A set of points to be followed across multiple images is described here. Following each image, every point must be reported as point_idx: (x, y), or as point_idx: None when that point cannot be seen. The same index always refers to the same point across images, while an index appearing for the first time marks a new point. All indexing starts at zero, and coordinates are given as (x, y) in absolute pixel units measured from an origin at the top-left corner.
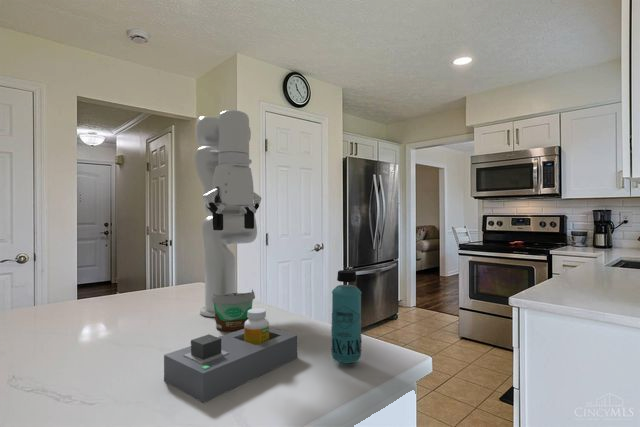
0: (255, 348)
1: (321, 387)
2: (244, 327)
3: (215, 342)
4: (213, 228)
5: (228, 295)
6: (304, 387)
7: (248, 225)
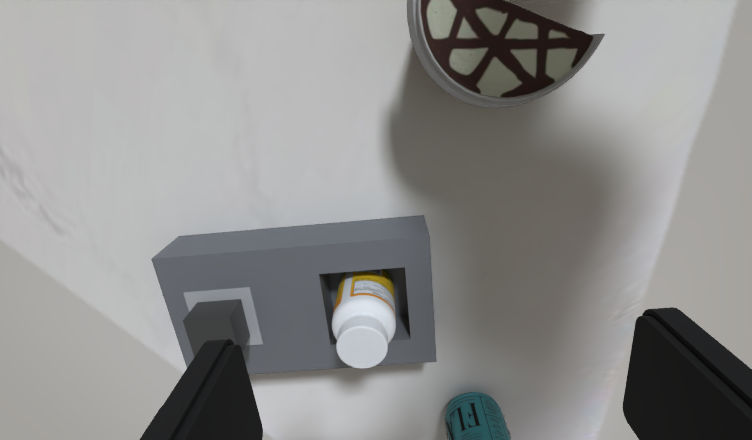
0: (319, 356)
1: (373, 422)
2: (334, 310)
3: None
4: (204, 349)
5: (478, 14)
6: (354, 407)
7: (647, 395)
